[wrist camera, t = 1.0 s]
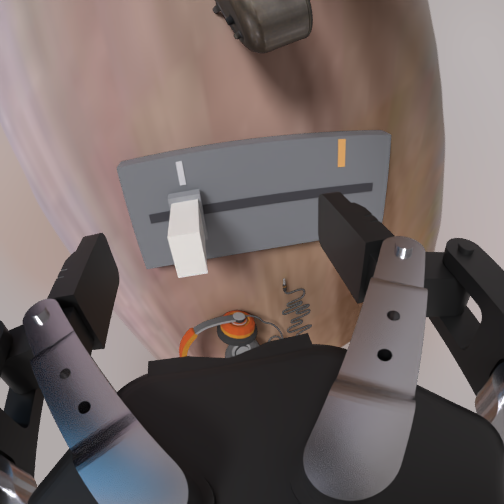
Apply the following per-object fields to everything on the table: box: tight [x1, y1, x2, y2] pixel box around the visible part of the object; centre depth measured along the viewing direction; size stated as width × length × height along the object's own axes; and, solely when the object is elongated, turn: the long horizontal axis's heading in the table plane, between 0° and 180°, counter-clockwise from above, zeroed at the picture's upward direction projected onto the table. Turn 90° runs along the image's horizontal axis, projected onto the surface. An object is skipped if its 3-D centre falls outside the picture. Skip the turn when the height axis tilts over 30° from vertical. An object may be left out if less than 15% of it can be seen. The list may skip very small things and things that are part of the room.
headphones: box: [179, 279, 312, 358], centre depth 43 cm, size 17×5×20 cm
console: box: [117, 130, 391, 269], centre depth 32 cm, size 12×28×2 cm, turn 95°
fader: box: [167, 189, 208, 278], centre depth 28 cm, size 5×3×7 cm, turn 5°
